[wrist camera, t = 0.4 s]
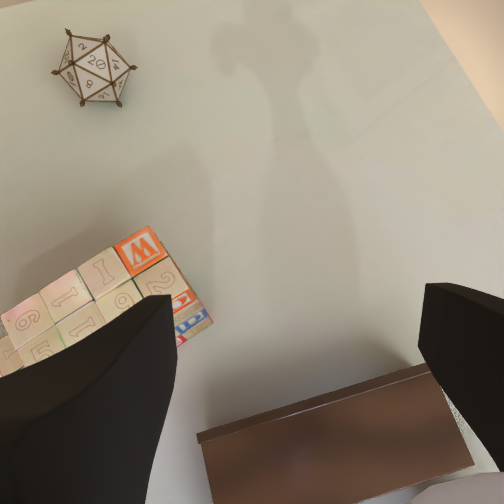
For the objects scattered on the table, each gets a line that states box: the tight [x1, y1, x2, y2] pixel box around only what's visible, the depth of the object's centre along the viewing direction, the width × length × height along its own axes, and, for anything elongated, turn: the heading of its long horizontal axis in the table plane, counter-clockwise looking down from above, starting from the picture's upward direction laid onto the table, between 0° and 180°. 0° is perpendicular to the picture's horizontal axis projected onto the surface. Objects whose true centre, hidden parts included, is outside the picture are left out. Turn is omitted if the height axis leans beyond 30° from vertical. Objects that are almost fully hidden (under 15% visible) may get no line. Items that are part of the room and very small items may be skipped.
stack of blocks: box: [0, 226, 213, 377], centre depth 33 cm, size 21×6×12 cm, turn 124°
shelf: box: [197, 363, 475, 504], centre depth 33 cm, size 8×20×5 cm, turn 106°
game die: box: [51, 28, 138, 107], centre depth 48 cm, size 9×8×10 cm
